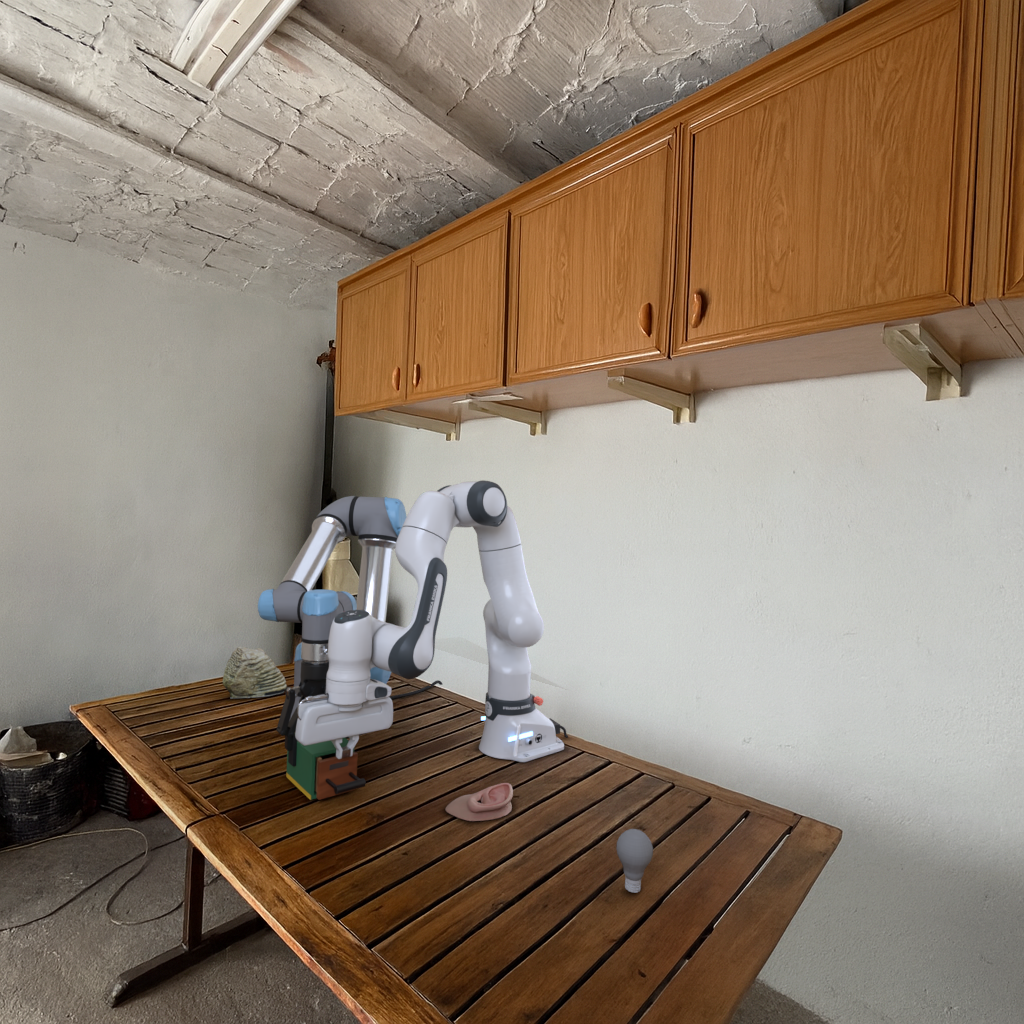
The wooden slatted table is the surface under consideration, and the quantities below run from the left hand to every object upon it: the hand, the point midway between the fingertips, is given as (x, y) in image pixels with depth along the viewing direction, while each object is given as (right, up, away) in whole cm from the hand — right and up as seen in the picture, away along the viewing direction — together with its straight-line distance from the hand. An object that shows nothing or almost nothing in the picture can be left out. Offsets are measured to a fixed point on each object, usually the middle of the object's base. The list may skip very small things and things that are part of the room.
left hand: (314, 758), depth 142 cm
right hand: (+10, +5, -12) cm, 16 cm away
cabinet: (+2, -5, -2) cm, 5 cm away
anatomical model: (+38, -6, -11) cm, 40 cm away
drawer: (+6, -4, -7) cm, 10 cm away
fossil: (-36, -2, +56) cm, 66 cm away
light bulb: (+64, -8, -37) cm, 75 cm away
